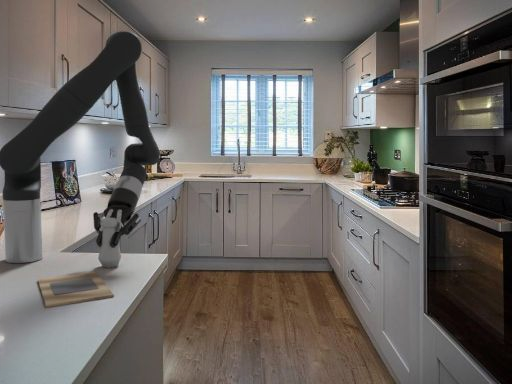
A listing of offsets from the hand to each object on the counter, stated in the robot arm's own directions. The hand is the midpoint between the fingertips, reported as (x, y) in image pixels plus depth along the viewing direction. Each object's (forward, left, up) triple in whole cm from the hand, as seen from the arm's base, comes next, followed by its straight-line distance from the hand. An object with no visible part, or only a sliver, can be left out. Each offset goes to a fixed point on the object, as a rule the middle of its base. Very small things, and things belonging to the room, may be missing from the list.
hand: (105, 245), depth 115 cm
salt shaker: (-1, +2, -6) cm, 6 cm away
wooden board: (+10, -14, -6) cm, 18 cm away
